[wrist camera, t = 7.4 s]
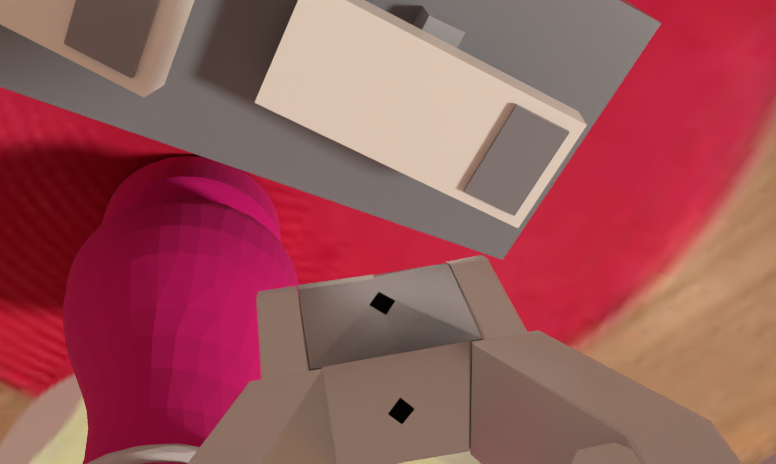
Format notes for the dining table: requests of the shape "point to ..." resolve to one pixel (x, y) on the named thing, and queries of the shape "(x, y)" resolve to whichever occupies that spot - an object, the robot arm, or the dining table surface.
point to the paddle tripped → (419, 106)
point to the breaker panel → (321, 154)
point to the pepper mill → (170, 307)
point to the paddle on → (106, 35)
